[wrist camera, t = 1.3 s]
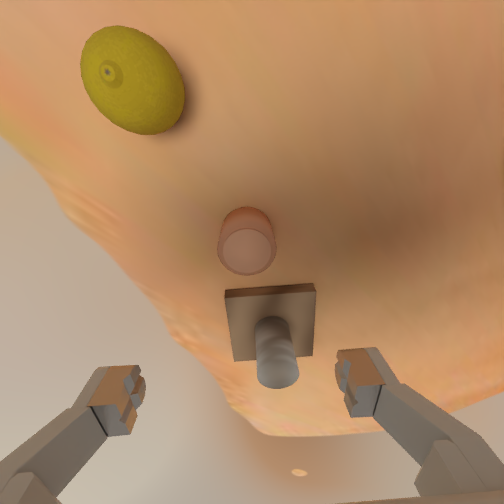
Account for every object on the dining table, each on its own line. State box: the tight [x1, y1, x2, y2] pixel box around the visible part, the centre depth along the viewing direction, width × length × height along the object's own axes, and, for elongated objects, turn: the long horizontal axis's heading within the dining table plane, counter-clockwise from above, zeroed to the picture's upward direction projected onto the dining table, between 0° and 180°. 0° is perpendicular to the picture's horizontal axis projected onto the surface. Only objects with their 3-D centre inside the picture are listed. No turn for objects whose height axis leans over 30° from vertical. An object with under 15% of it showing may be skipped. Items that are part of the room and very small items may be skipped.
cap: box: [217, 207, 276, 275], centre depth 22 cm, size 5×5×5 cm
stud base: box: [225, 284, 316, 389], centre depth 26 cm, size 10×10×8 cm
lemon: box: [80, 26, 185, 135], centre depth 15 cm, size 6×6×8 cm
